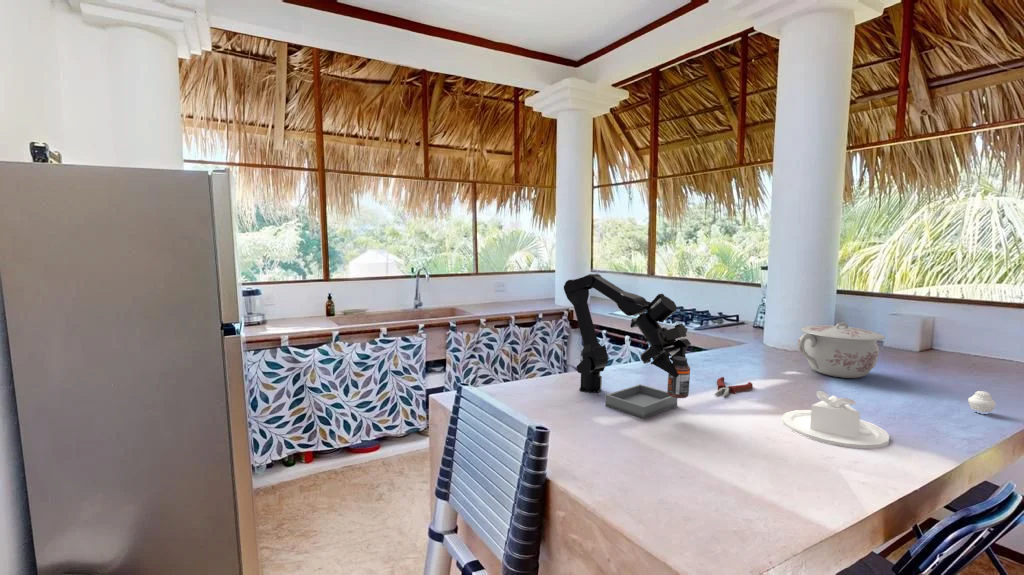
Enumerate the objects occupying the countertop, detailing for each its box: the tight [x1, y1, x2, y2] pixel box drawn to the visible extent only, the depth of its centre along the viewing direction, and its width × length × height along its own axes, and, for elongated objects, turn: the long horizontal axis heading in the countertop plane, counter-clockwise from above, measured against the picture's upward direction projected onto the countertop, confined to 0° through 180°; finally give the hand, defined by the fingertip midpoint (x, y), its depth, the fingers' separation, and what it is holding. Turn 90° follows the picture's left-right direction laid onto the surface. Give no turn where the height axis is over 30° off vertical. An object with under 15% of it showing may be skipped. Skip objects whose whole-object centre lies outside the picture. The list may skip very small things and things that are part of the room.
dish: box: [781, 390, 891, 450], centre depth 133 cm, size 25×25×11 cm
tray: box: [605, 383, 678, 419], centre depth 150 cm, size 14×18×4 cm
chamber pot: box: [797, 321, 886, 379], centre depth 189 cm, size 28×28×21 cm
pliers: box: [714, 376, 754, 398], centre depth 167 cm, size 12×20×3 cm, turn 140°
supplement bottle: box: [666, 356, 691, 399], centre depth 140 cm, size 6×6×11 cm
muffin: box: [967, 390, 997, 413], centre depth 147 cm, size 6×6×7 cm
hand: (683, 374), depth 139 cm, fingers closed on supplement bottle, 6 cm apart
